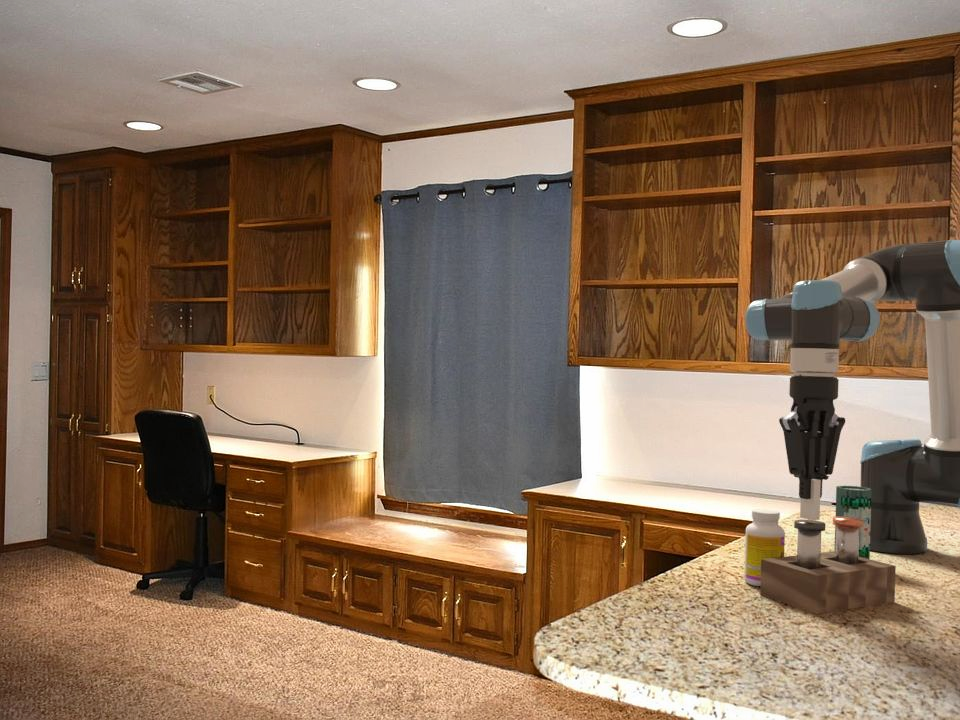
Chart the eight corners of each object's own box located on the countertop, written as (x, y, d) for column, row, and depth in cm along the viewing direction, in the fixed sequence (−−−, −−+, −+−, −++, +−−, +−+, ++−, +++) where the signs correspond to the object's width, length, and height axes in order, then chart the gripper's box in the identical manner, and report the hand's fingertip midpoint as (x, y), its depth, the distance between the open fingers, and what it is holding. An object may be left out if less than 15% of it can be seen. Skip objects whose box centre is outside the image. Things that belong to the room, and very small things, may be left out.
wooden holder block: (835, 584, 160) (836, 550, 160) (894, 602, 149) (895, 565, 149) (760, 594, 152) (761, 559, 152) (817, 614, 141) (818, 575, 141)
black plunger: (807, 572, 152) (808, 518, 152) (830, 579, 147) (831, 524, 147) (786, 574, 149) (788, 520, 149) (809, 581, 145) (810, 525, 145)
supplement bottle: (785, 589, 156) (787, 515, 155) (745, 586, 157) (747, 513, 157) (780, 580, 162) (782, 509, 162) (742, 577, 163) (744, 506, 163)
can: (852, 569, 172) (854, 490, 172) (828, 562, 178) (830, 486, 178) (875, 567, 175) (877, 489, 175) (851, 560, 180) (853, 485, 180)
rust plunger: (844, 567, 156) (846, 515, 156) (868, 574, 152) (869, 520, 151) (825, 570, 154) (826, 517, 154) (848, 576, 149) (849, 522, 149)
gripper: (803, 375, 142) (798, 525, 142) (860, 376, 148) (856, 520, 148) (767, 373, 148) (763, 516, 149) (823, 374, 155) (819, 512, 155)
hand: (809, 518), depth 148 cm, fingers closed
